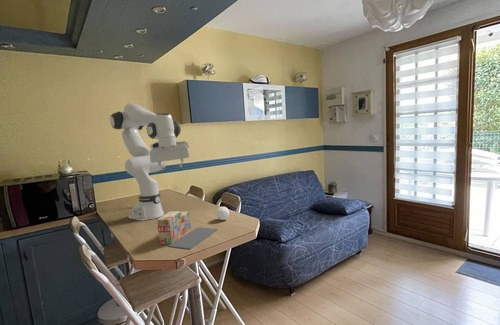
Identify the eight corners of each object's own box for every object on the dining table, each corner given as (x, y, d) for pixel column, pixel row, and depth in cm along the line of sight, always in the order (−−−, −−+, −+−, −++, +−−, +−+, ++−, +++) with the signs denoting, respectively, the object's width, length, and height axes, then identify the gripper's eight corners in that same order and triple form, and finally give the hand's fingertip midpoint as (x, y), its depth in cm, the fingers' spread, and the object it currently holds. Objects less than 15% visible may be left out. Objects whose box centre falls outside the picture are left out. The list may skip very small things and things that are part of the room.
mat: (168, 246, 122) (168, 245, 122) (198, 227, 144) (198, 227, 144) (190, 249, 117) (190, 248, 117) (217, 229, 139) (217, 228, 139)
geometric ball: (222, 223, 157) (224, 210, 161) (231, 220, 152) (232, 207, 156) (212, 219, 152) (213, 206, 156) (221, 216, 147) (222, 203, 151)
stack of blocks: (180, 228, 146) (177, 206, 145) (190, 228, 145) (188, 205, 143) (159, 244, 125) (156, 219, 124) (171, 244, 124) (169, 219, 123)
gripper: (187, 140, 148) (191, 165, 149) (149, 145, 144) (153, 171, 145) (187, 140, 142) (191, 166, 143) (147, 145, 138) (151, 172, 139)
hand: (172, 168), depth 144 cm, fingers open, 8 cm apart
